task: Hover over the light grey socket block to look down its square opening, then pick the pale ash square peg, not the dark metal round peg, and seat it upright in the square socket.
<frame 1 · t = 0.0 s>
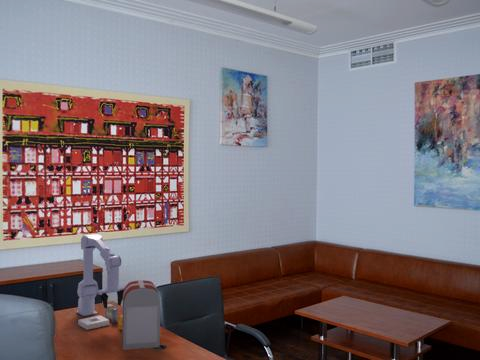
hand: (112, 306, 241), 10 cm above the table, tool pointing down, fingers open, 7 cm apart
socket block: (93, 324, 243), on the table
square peg: (108, 318, 254), on the table
round peg: (114, 322, 247), on the table
grey arched box: (140, 341, 221), on the table
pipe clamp: (130, 330, 237), on the table
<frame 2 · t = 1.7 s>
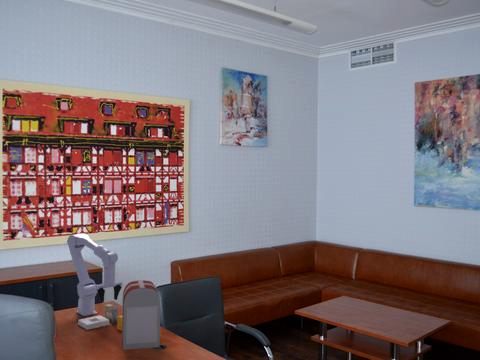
hand: (109, 300, 253), 9 cm above the table, tool pointing down, fingers open, 7 cm apart
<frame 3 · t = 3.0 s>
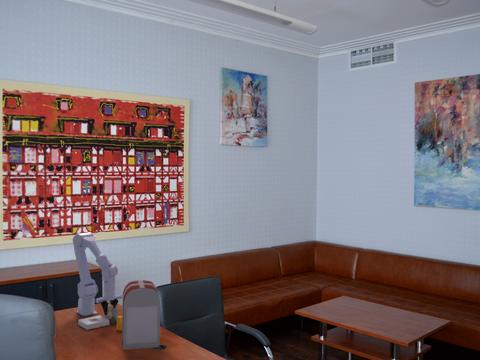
hand: (109, 314, 254), 2 cm above the table, tool pointing down, fingers closed on square peg, 3 cm apart
square peg: (108, 318, 254), on the table, touching gripper
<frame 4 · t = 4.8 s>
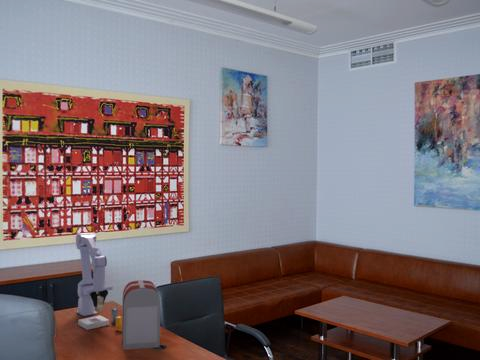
hand: (98, 305, 245), 9 cm above the table, tool pointing down, fingers closed on square peg, 3 cm apart
square peg: (98, 310, 245), point 6 cm above the table, touching gripper
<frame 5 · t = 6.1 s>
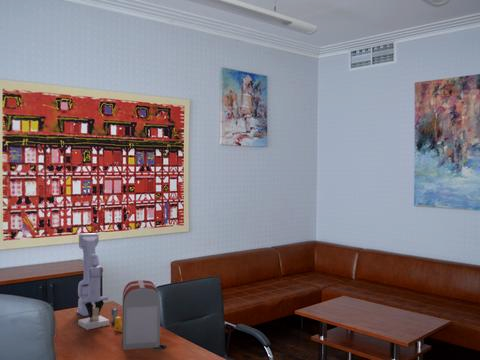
hand: (93, 316, 243), 4 cm above the table, tool pointing down, fingers closed on square peg, 3 cm apart
square peg: (94, 321, 242), point 2 cm above the table, touching gripper
when the fingers open (3 cm above the table, at t = 6.7 s): square peg stays where it is, resting in socket block.
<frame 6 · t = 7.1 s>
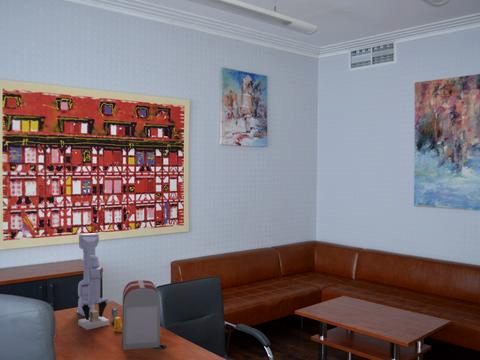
hand: (93, 318, 243), 3 cm above the table, tool pointing down, fingers open, 7 cm apart
square peg: (94, 325, 242), resting in socket block
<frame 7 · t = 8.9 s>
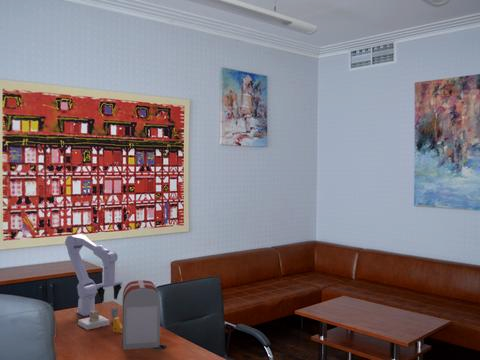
hand: (108, 300, 255), 9 cm above the table, tool pointing down, fingers open, 7 cm apart
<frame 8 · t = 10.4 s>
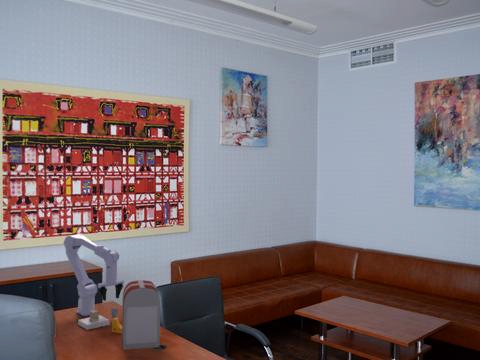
hand: (110, 299, 256), 9 cm above the table, tool pointing down, fingers open, 7 cm apart
at the end: square peg 0.4 cm off-centre on the socket block, point 0.0 cm above the socket block's base; square peg tilted 0°; the gripper is holding nothing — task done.
